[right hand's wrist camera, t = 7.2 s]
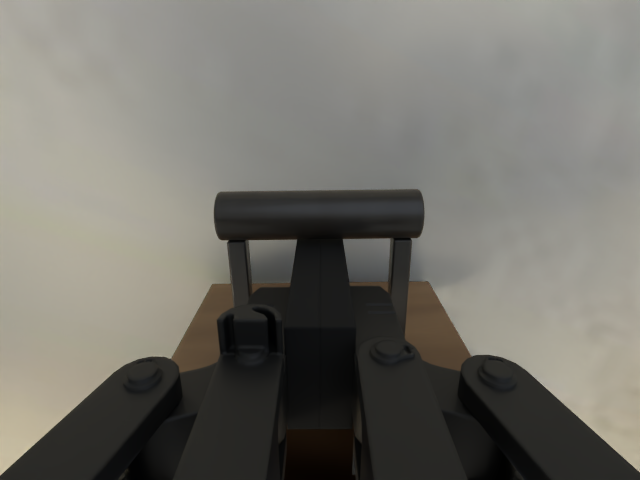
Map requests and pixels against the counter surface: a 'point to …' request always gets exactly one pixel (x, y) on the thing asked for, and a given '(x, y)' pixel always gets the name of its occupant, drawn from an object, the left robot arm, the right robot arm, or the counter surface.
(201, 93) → the counter surface
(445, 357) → the drawer
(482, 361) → the right robot arm
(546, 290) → the counter surface
